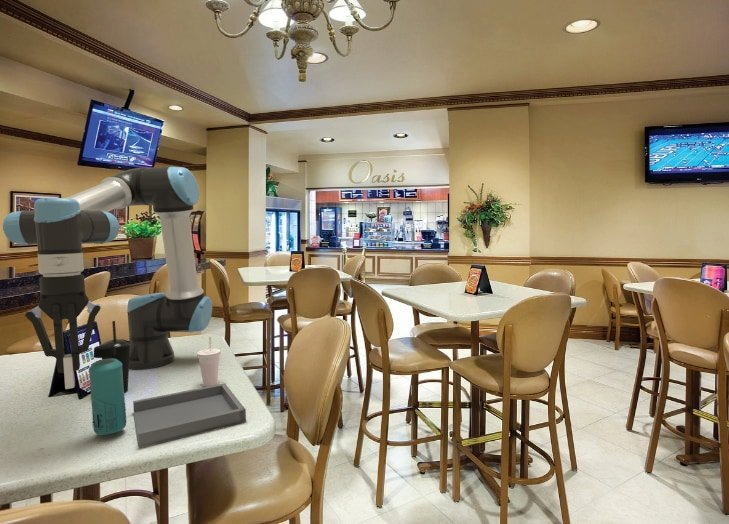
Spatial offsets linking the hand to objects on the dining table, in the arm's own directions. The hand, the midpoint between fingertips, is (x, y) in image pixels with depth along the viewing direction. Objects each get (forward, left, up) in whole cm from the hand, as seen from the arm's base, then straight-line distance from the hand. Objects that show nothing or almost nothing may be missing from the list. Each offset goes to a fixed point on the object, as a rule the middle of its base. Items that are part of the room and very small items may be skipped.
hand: (70, 386), depth 89 cm
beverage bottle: (0, +7, -13) cm, 14 cm away
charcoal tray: (0, +23, -12) cm, 26 cm away
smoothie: (-20, +32, -13) cm, 39 cm away
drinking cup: (-28, +9, -13) cm, 32 cm away
